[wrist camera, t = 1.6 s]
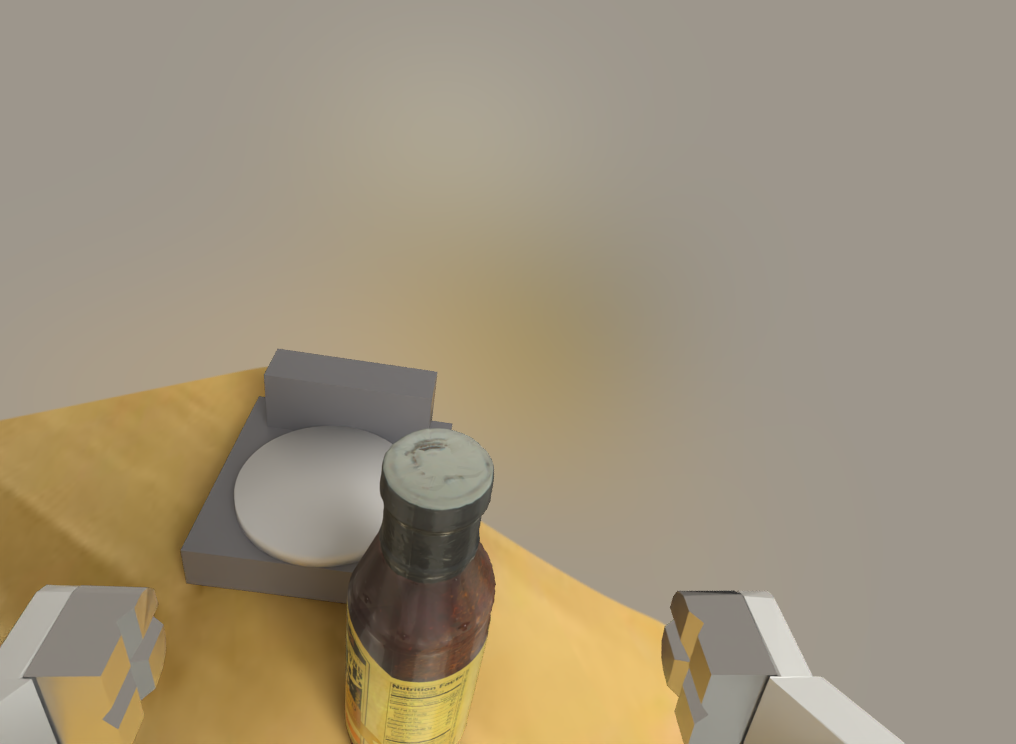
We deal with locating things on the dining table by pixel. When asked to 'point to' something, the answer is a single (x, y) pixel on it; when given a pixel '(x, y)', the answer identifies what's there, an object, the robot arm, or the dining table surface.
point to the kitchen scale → (307, 477)
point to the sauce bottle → (421, 595)
